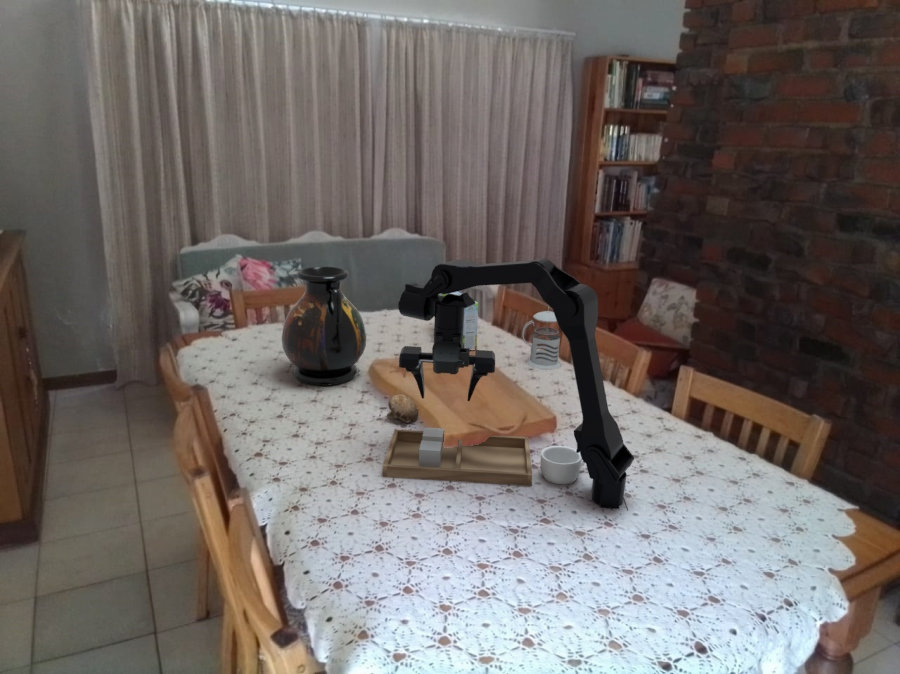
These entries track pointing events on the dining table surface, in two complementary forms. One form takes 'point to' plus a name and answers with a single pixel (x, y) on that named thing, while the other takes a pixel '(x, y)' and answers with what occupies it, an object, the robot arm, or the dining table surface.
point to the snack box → (469, 324)
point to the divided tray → (462, 460)
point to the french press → (544, 343)
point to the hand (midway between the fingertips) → (445, 399)
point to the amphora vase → (323, 330)
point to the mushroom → (402, 408)
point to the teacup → (560, 464)
